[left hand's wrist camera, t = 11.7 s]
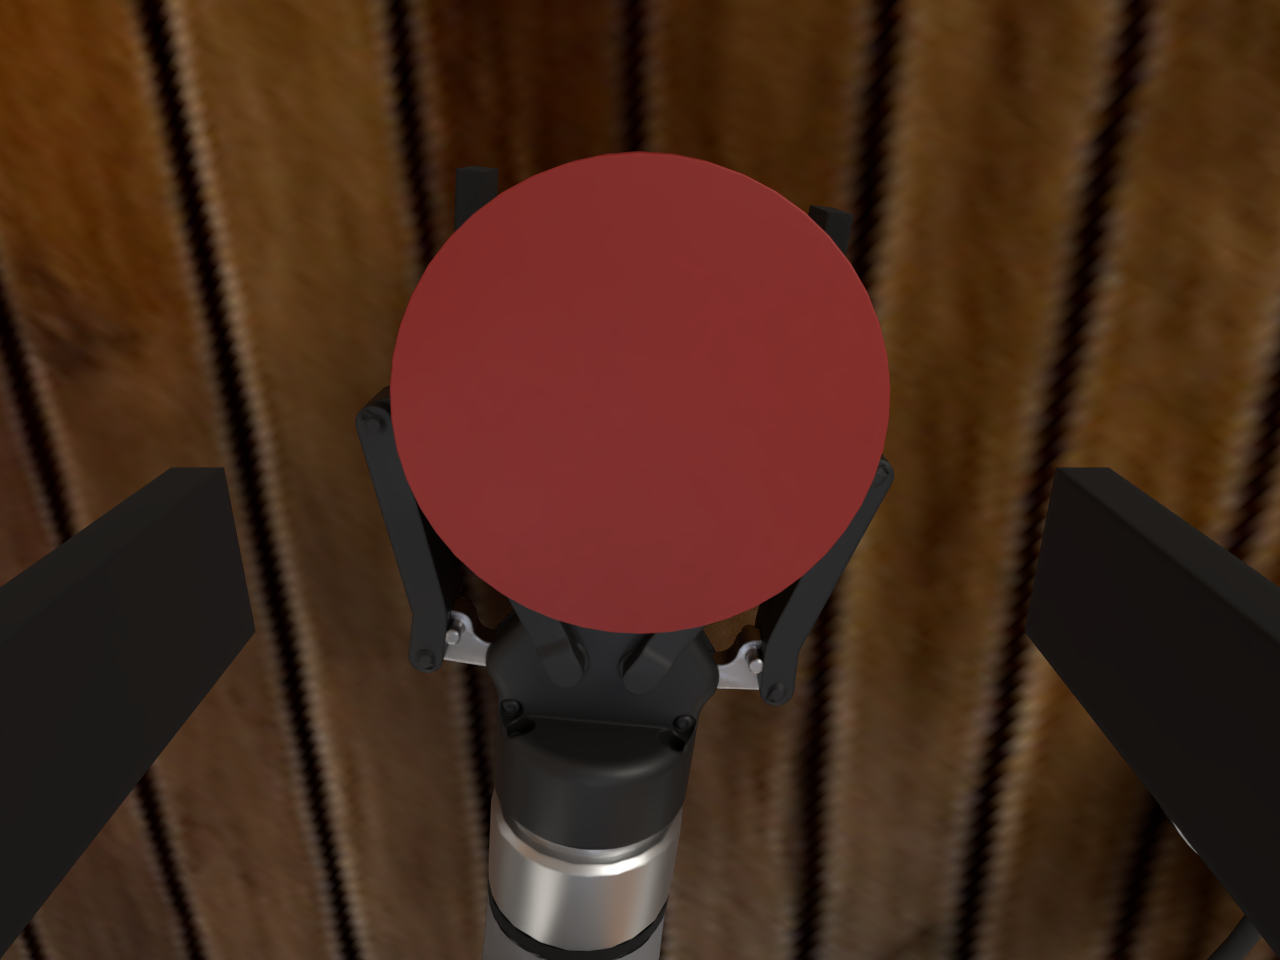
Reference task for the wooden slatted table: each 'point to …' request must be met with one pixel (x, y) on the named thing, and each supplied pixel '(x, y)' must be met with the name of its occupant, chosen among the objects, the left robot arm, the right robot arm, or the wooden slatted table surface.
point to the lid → (639, 393)
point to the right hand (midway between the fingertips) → (655, 189)
